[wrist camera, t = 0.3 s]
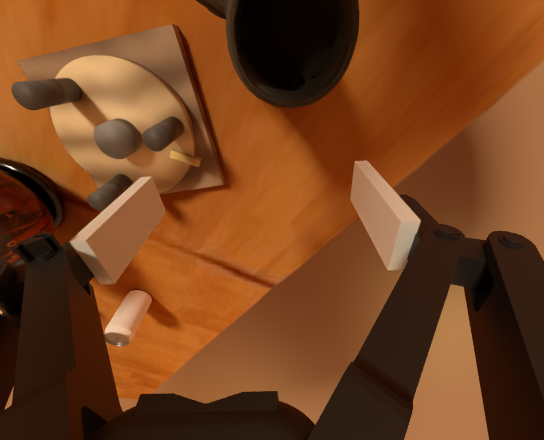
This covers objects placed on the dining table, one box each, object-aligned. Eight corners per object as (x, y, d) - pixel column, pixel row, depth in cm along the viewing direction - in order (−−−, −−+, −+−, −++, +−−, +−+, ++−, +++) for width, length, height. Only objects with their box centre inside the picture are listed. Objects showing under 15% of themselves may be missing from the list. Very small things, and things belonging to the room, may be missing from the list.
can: (155, 293, 64) (133, 337, 54) (149, 306, 67) (127, 349, 57) (130, 285, 62) (103, 328, 52) (126, 299, 65) (99, 342, 55)
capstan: (28, 71, 33) (-45, 75, 25) (165, 40, 31) (130, 34, 23) (108, 197, 44) (74, 225, 36) (213, 180, 42) (199, 206, 34)
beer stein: (332, 10, 31) (398, -45, 15) (304, 98, 37) (328, 130, 20) (216, -36, 29) (136, -162, 12) (205, 66, 35) (141, 72, 18)
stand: (28, 60, 35) (14, 61, 33) (177, 26, 32) (171, 23, 30) (114, 197, 47) (107, 203, 45) (225, 180, 45) (222, 185, 43)
